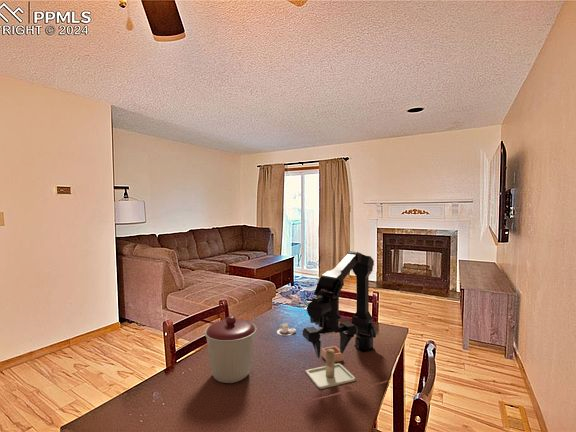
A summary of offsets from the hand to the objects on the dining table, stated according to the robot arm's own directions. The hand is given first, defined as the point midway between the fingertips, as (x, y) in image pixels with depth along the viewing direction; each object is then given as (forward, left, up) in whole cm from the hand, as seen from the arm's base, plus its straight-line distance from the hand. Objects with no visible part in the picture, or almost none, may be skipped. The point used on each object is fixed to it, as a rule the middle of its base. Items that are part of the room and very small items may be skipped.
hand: (329, 355), depth 109 cm
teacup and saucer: (+1, -39, -9) cm, 40 cm away
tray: (0, 0, -8) cm, 8 cm away
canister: (+32, -14, -8) cm, 36 cm away
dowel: (0, 0, -8) cm, 8 cm away
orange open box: (-7, -11, -8) cm, 15 cm away
